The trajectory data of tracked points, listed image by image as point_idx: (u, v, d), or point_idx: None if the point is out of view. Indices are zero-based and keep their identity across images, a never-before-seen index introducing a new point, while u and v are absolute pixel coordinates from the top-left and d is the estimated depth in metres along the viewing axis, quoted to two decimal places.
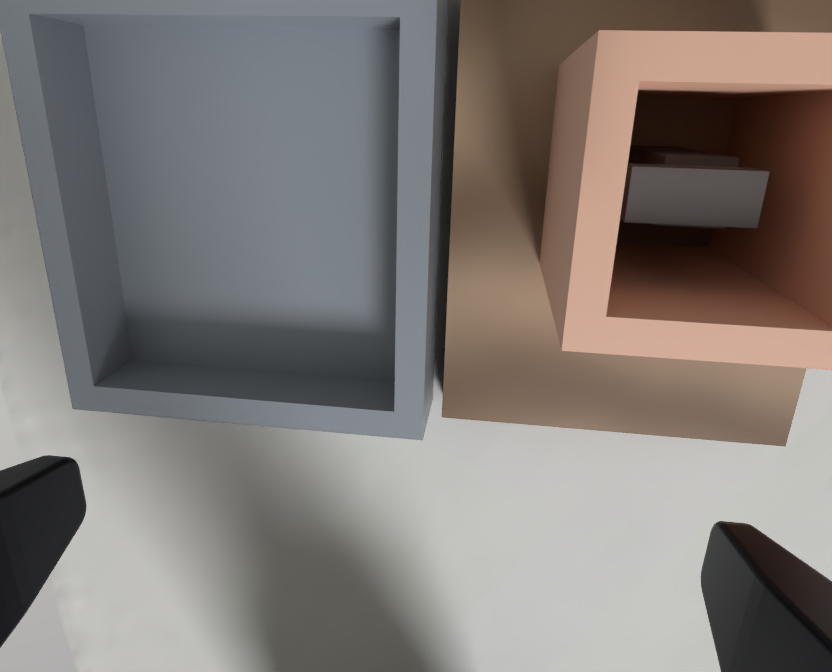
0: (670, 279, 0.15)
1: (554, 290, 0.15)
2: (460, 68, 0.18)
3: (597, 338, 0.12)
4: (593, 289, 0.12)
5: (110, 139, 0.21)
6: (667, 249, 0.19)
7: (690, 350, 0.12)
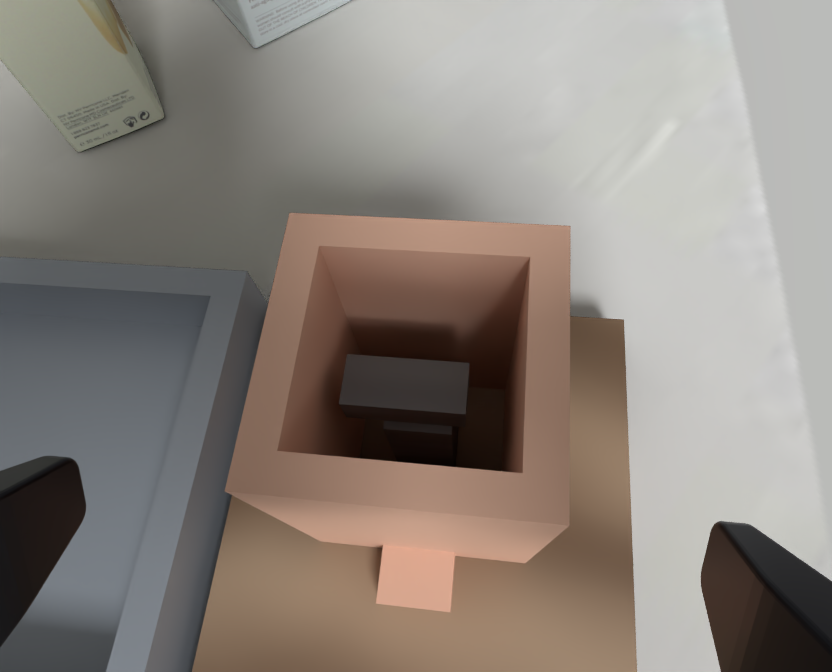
0: None
1: None
2: None
3: (265, 476, 0.11)
4: (267, 420, 0.11)
5: None
6: None
7: (366, 493, 0.11)
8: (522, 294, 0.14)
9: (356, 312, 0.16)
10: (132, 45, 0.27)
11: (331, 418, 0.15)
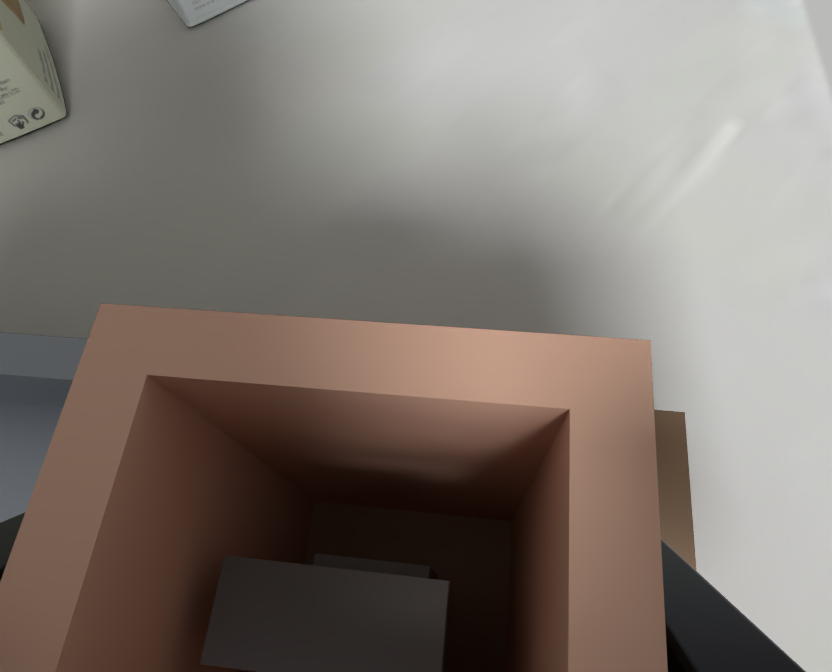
0: None
1: None
2: None
3: None
4: None
5: None
6: None
7: None
8: (549, 448, 0.07)
9: (262, 448, 0.09)
10: (24, 22, 0.21)
11: None
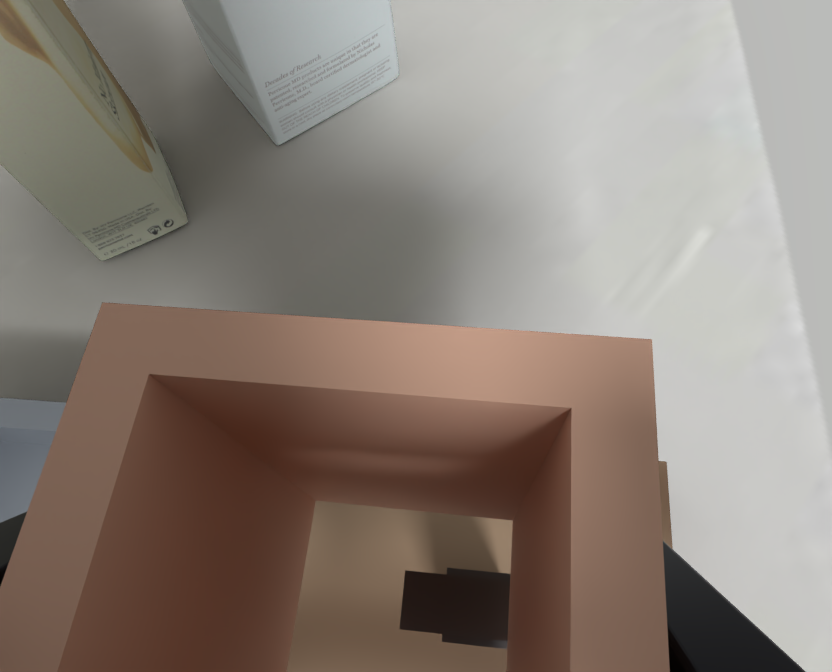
0: None
1: None
2: None
3: None
4: None
5: None
6: None
7: None
8: (549, 446, 0.07)
9: (263, 447, 0.09)
10: (154, 150, 0.27)
11: (212, 642, 0.09)
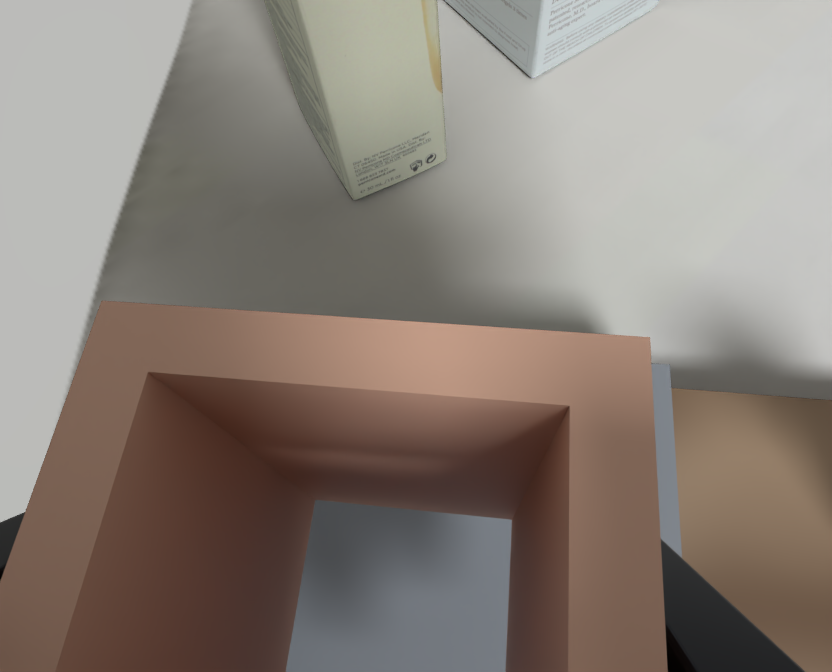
0: None
1: None
2: (676, 458, 0.18)
3: None
4: None
5: None
6: None
7: None
8: (548, 445, 0.07)
9: (262, 446, 0.09)
10: None
11: (212, 641, 0.09)
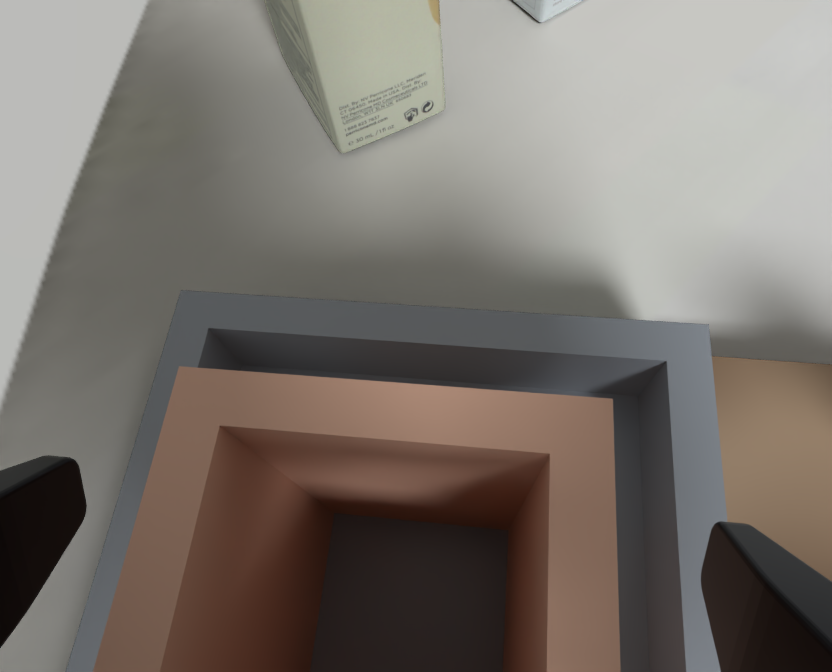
0: None
1: None
2: None
3: None
4: None
5: None
6: None
7: None
8: (536, 477, 0.09)
9: (298, 474, 0.11)
10: None
11: (258, 637, 0.10)
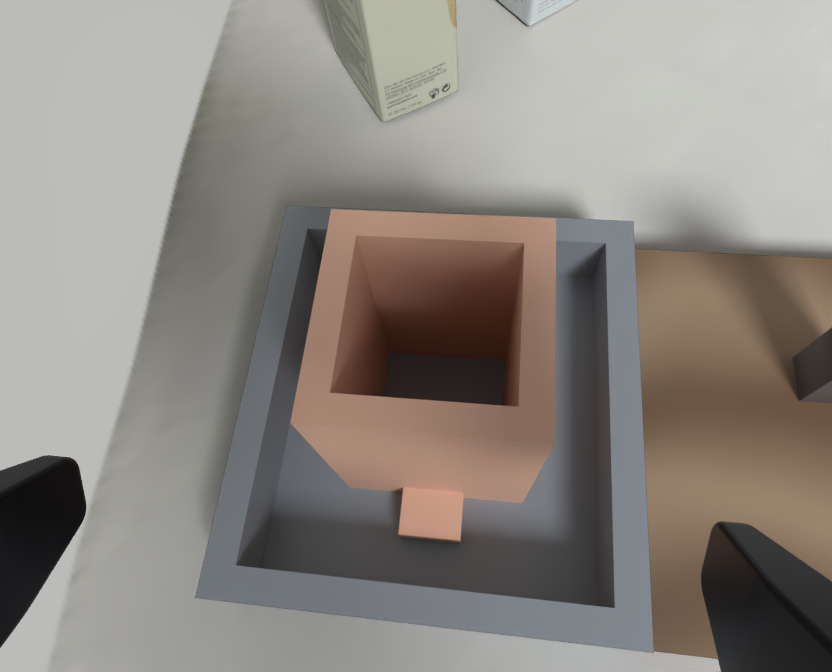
0: None
1: None
2: (639, 297, 0.23)
3: (321, 411, 0.14)
4: (320, 369, 0.15)
5: None
6: None
7: (399, 423, 0.14)
8: (519, 274, 0.17)
9: (381, 291, 0.19)
10: None
11: (362, 377, 0.18)
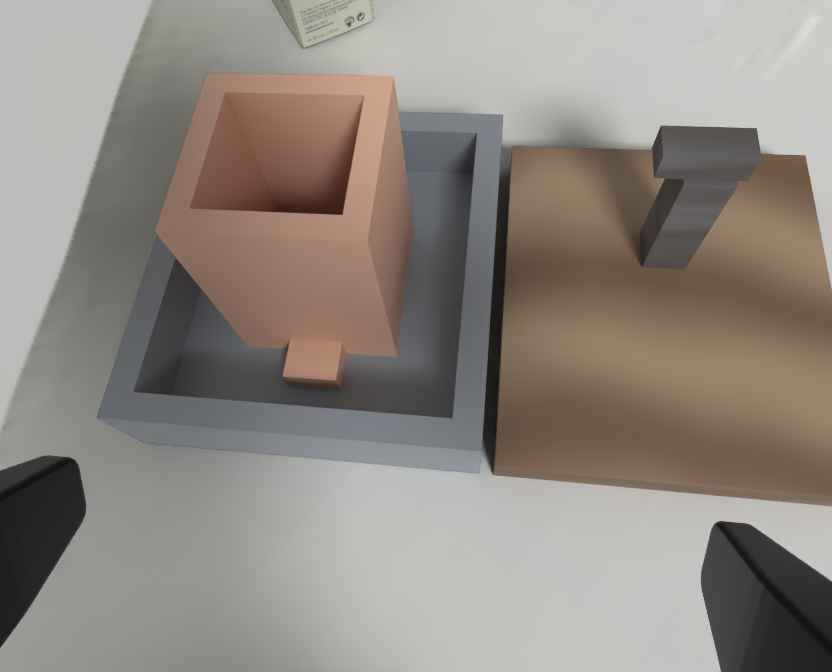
0: None
1: None
2: (512, 185, 0.26)
3: (181, 222, 0.17)
4: (183, 191, 0.17)
5: None
6: None
7: (244, 229, 0.17)
8: None
9: (264, 159, 0.22)
10: None
11: None
